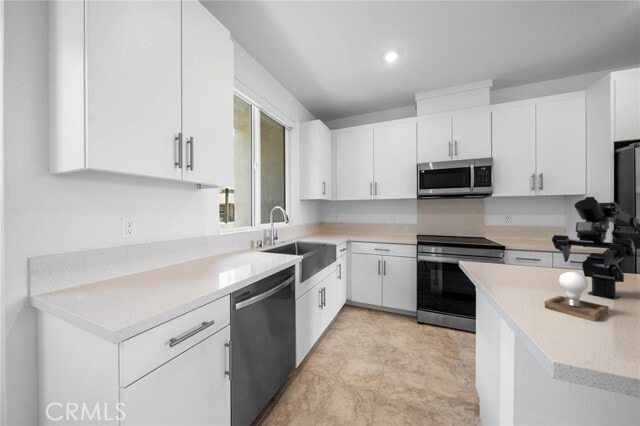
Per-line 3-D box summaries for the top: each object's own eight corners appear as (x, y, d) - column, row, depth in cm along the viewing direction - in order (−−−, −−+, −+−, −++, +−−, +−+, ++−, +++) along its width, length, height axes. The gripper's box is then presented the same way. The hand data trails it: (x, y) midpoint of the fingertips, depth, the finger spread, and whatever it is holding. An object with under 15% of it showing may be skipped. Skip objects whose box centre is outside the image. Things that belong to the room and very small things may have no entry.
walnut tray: (559, 302, 83) (559, 295, 83) (608, 313, 73) (608, 306, 73) (544, 307, 78) (544, 301, 78) (594, 321, 68) (594, 313, 68)
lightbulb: (553, 302, 80) (553, 269, 80) (576, 303, 79) (576, 270, 79) (569, 309, 74) (569, 274, 74) (594, 311, 72) (594, 274, 72)
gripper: (553, 213, 92) (541, 244, 87) (632, 213, 75) (623, 251, 70) (561, 233, 96) (550, 264, 90) (638, 237, 79) (630, 275, 74)
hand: (584, 263), depth 81 cm, fingers open, 9 cm apart
